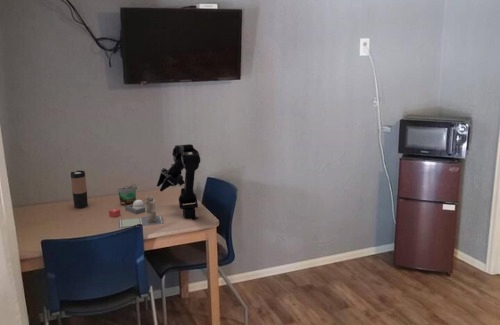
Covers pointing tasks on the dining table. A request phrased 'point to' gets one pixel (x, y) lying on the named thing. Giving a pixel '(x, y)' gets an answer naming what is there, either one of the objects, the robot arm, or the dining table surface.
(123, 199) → the food container
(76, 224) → the dining table surface
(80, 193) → the travel mug
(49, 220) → the dining table surface
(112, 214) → the red die
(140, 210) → the dome housing
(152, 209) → the capped square post
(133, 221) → the board
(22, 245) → the dining table surface
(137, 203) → the dome button
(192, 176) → the robot arm
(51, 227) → the dining table surface
